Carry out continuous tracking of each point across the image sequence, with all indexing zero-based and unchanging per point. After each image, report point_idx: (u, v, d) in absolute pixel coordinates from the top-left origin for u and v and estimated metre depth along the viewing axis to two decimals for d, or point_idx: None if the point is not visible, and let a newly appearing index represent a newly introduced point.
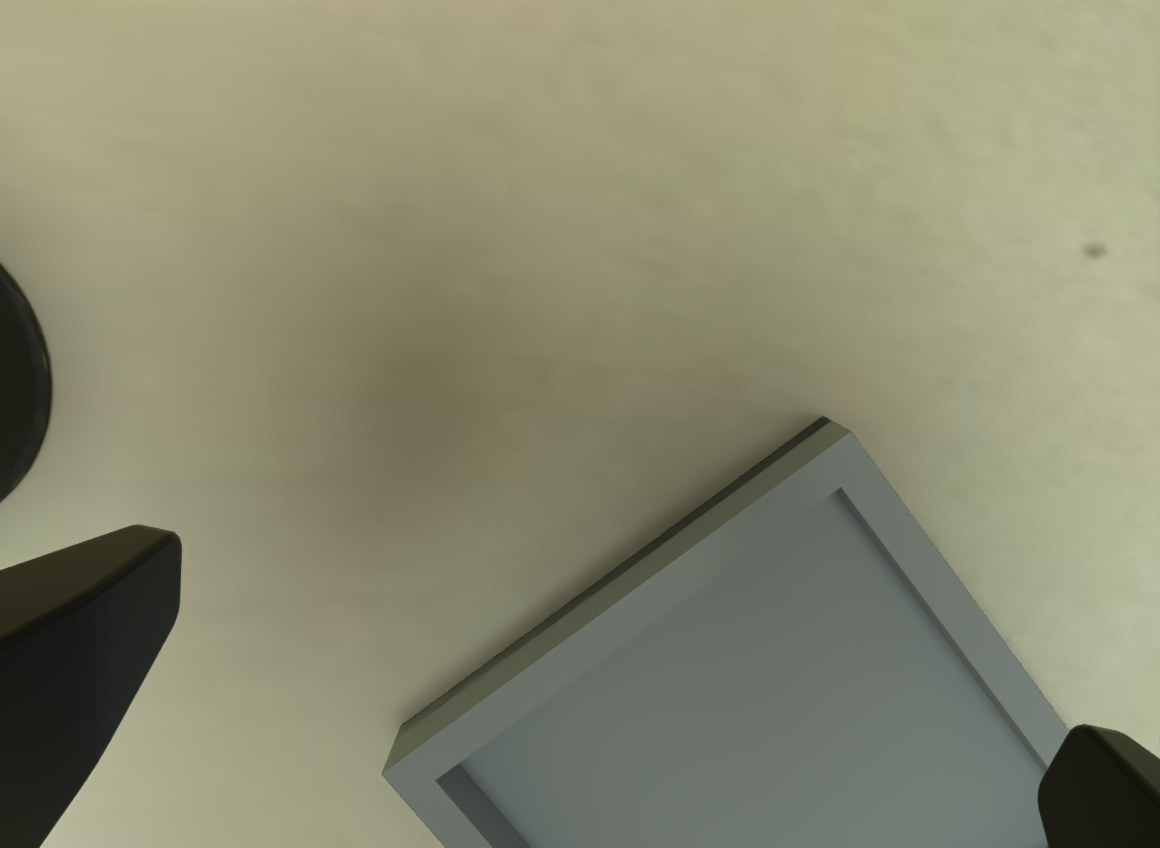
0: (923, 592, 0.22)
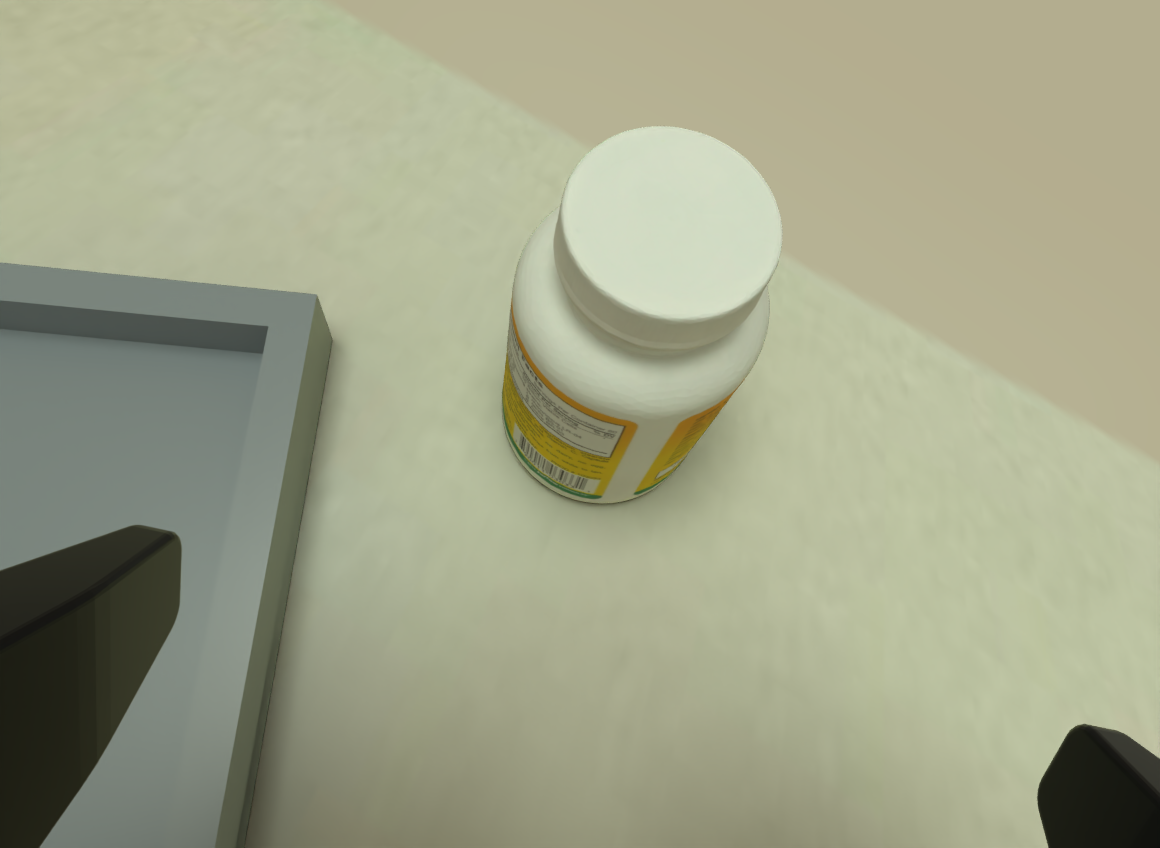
0: None
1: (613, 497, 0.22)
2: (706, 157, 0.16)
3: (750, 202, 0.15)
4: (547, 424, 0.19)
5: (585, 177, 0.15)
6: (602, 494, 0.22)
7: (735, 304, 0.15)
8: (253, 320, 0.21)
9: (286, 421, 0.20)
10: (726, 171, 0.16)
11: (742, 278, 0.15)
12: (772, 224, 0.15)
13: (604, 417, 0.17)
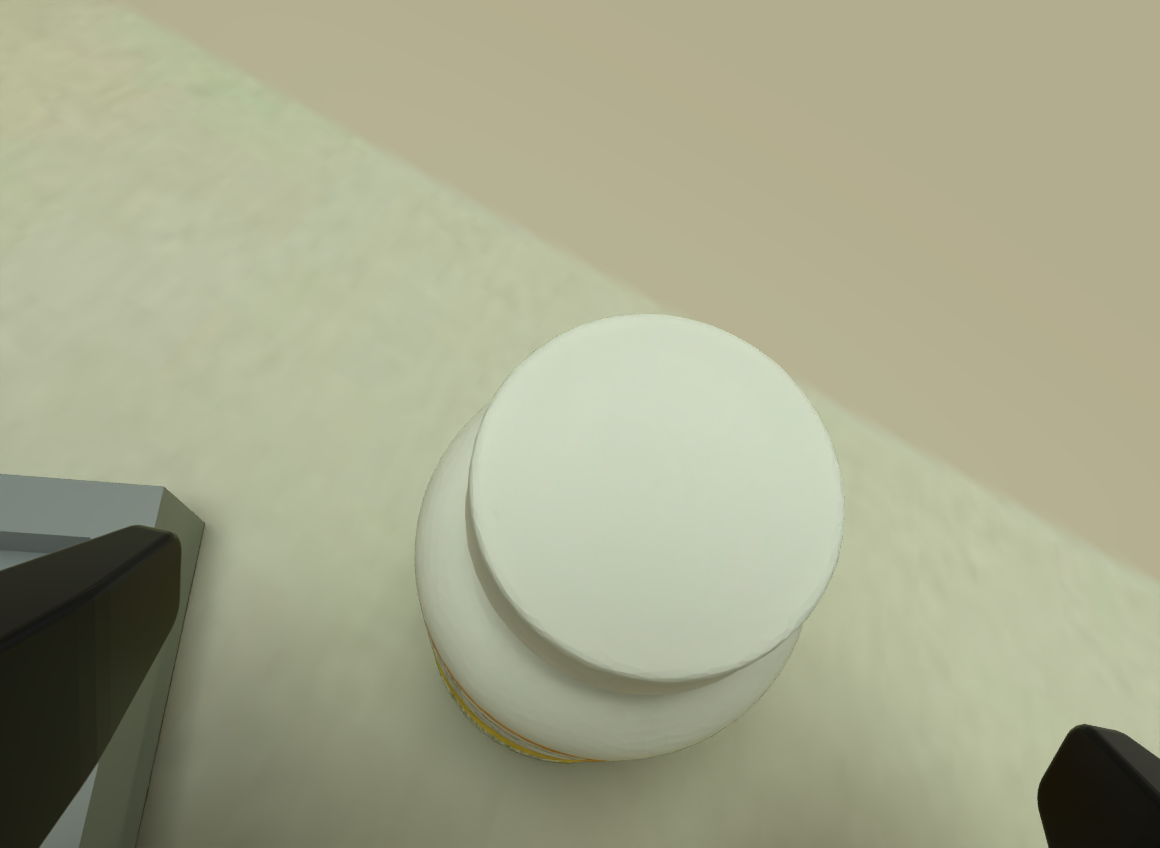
0: None
1: None
2: (715, 367, 0.09)
3: (789, 447, 0.09)
4: (477, 715, 0.13)
5: (512, 412, 0.09)
6: (567, 762, 0.16)
7: (769, 646, 0.08)
8: (68, 529, 0.15)
9: None
10: (748, 391, 0.09)
11: (780, 593, 0.09)
12: (827, 486, 0.09)
13: (556, 751, 0.11)
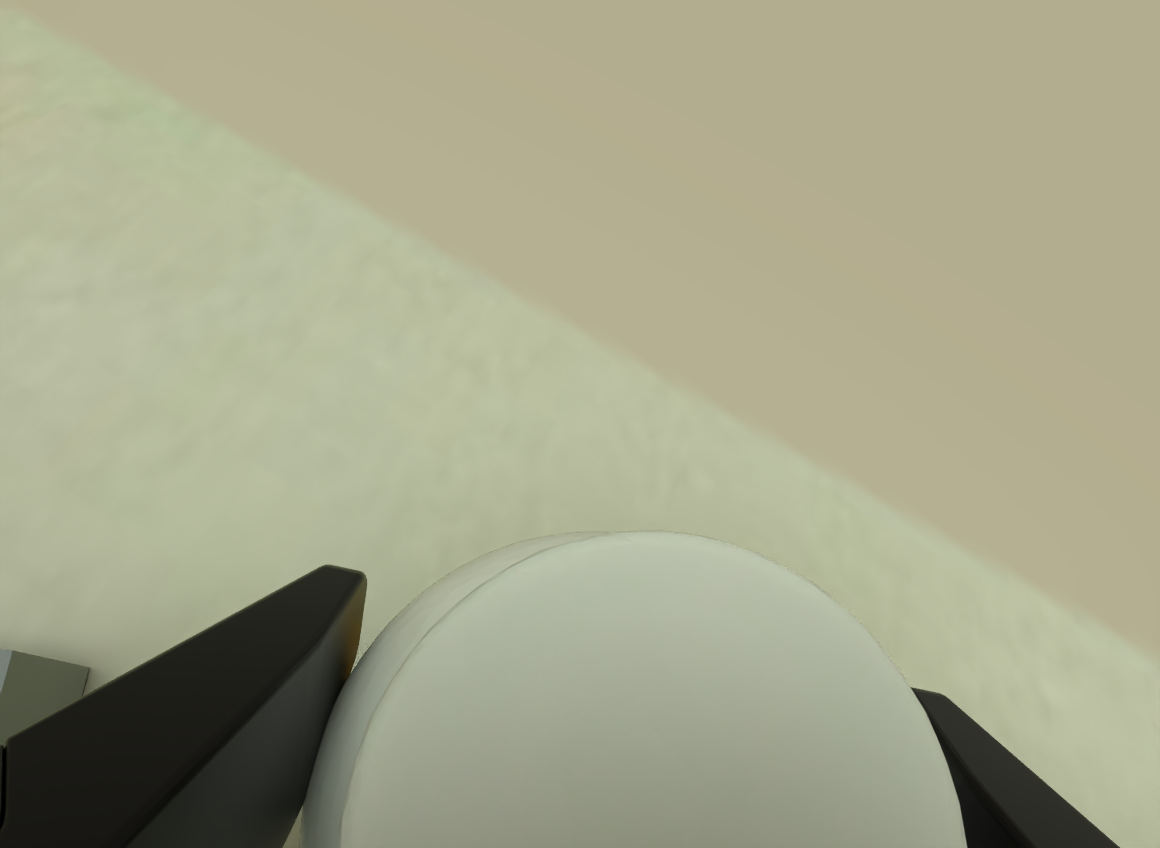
0: None
1: None
2: (752, 626, 0.06)
3: (876, 768, 0.06)
4: None
5: (414, 724, 0.05)
6: None
7: None
8: None
9: None
10: (806, 665, 0.06)
11: None
12: (940, 837, 0.06)
13: None
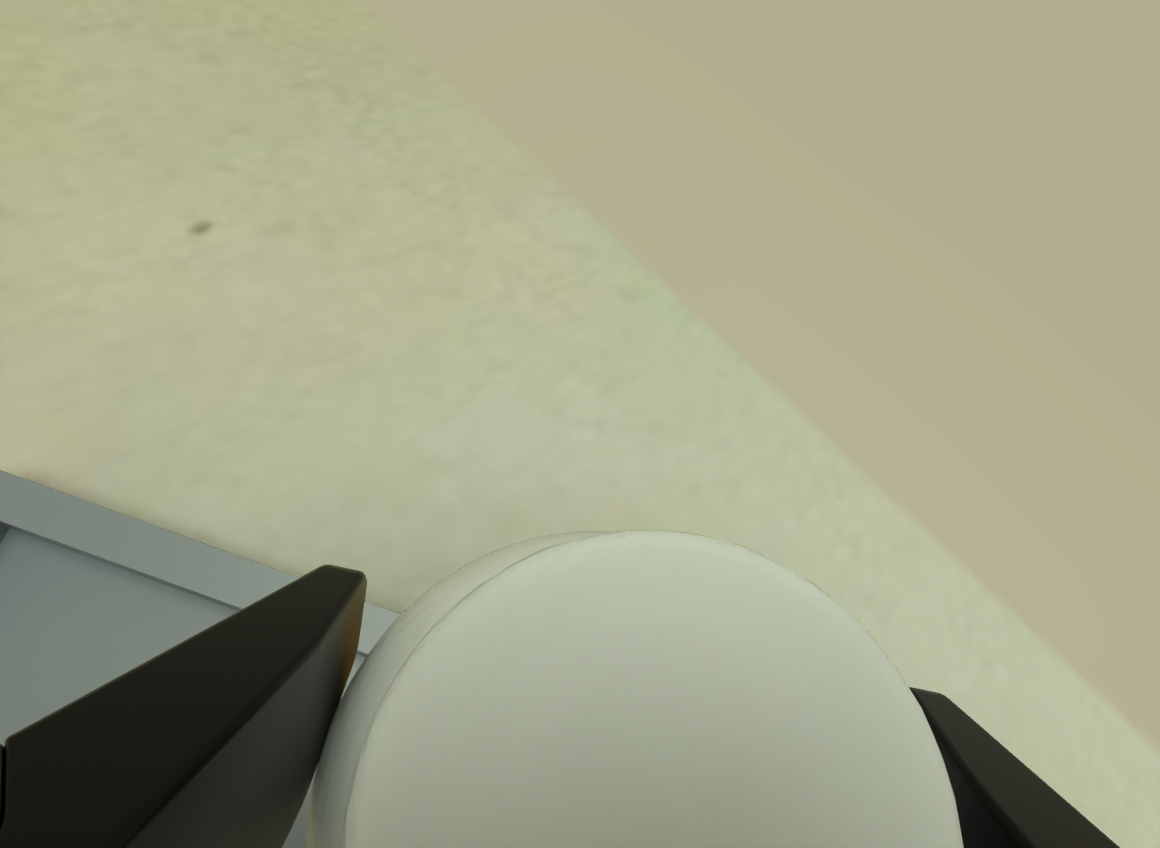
0: (124, 561, 0.19)
1: None
2: (749, 623, 0.06)
3: (872, 763, 0.06)
4: None
5: (417, 720, 0.05)
6: None
7: None
8: None
9: None
10: (804, 663, 0.06)
11: None
12: (936, 832, 0.06)
13: None
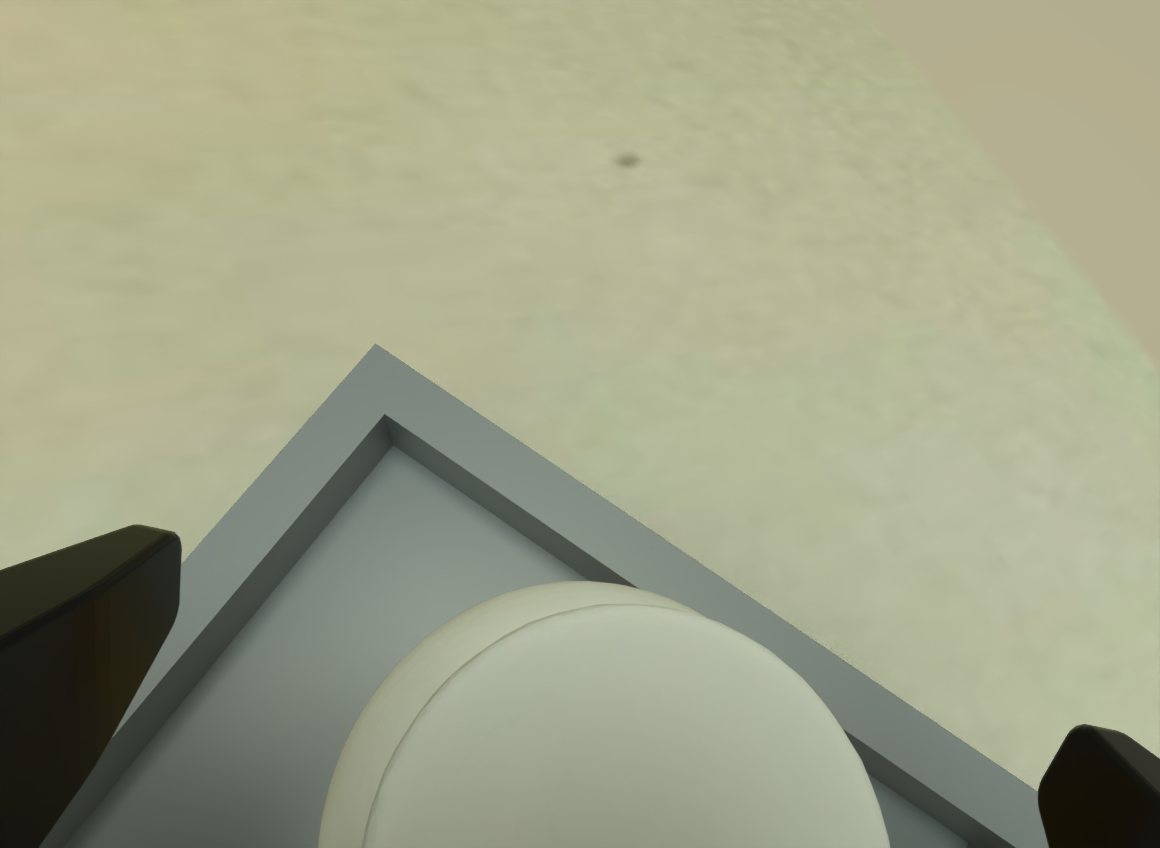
0: (548, 521, 0.15)
1: None
2: (712, 688, 0.07)
3: (818, 811, 0.07)
4: None
5: (421, 779, 0.06)
6: None
7: None
8: (1005, 831, 0.14)
9: None
10: (759, 722, 0.07)
11: None
12: None
13: None
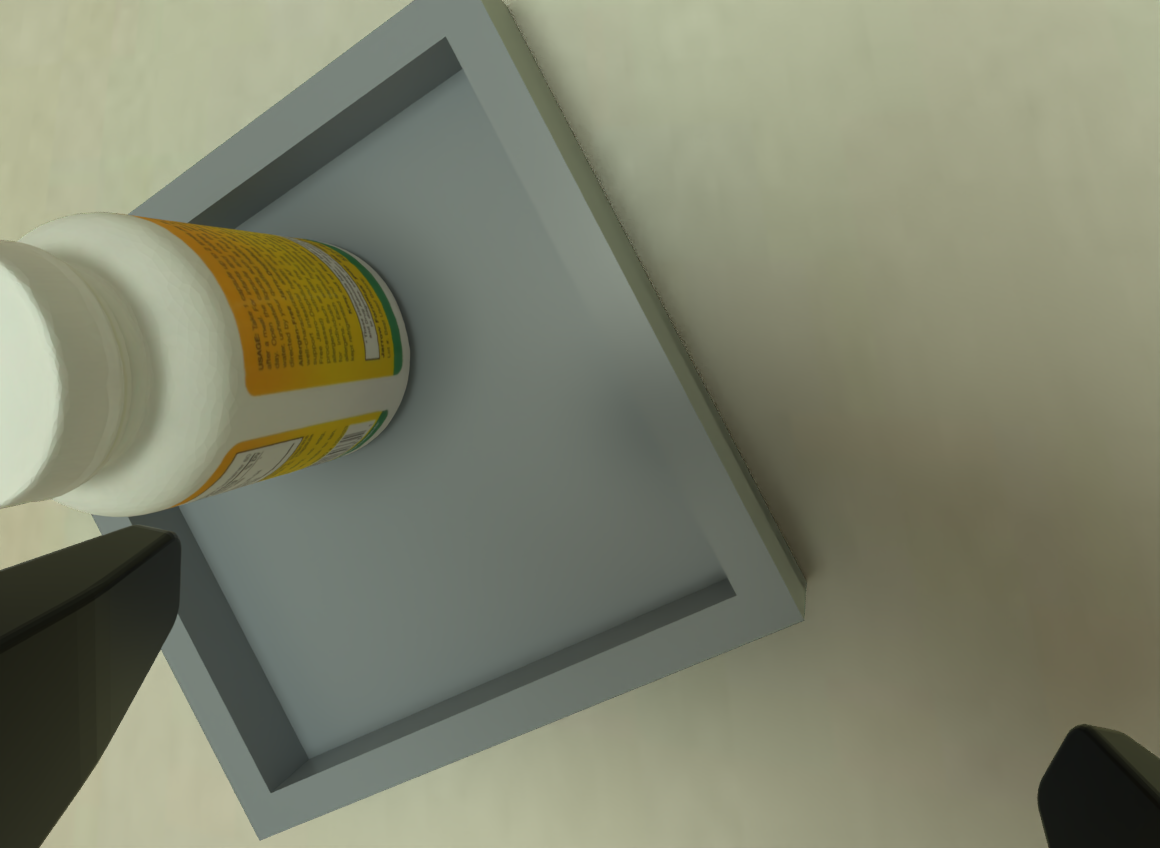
0: None
1: (393, 395, 0.20)
2: None
3: None
4: (246, 485, 0.17)
5: None
6: (379, 411, 0.20)
7: (54, 370, 0.12)
8: (428, 42, 0.18)
9: (533, 117, 0.18)
10: None
11: (28, 344, 0.12)
12: None
13: (216, 474, 0.15)
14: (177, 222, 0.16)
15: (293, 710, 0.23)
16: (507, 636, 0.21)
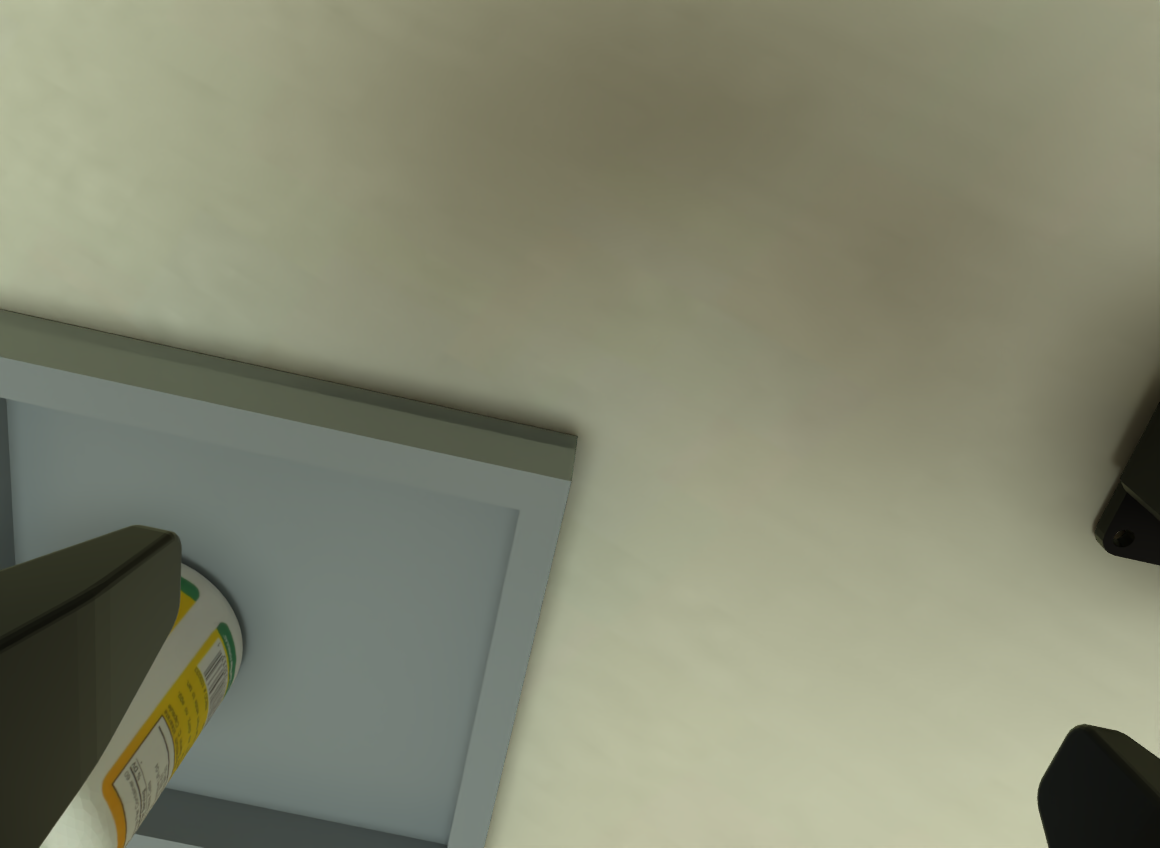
0: None
1: (213, 610, 0.22)
2: None
3: None
4: (167, 775, 0.20)
5: None
6: (214, 630, 0.22)
7: None
8: None
9: (60, 376, 0.19)
10: None
11: None
12: None
13: (115, 808, 0.18)
14: None
15: (405, 829, 0.26)
16: (457, 660, 0.24)
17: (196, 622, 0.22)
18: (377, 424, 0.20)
